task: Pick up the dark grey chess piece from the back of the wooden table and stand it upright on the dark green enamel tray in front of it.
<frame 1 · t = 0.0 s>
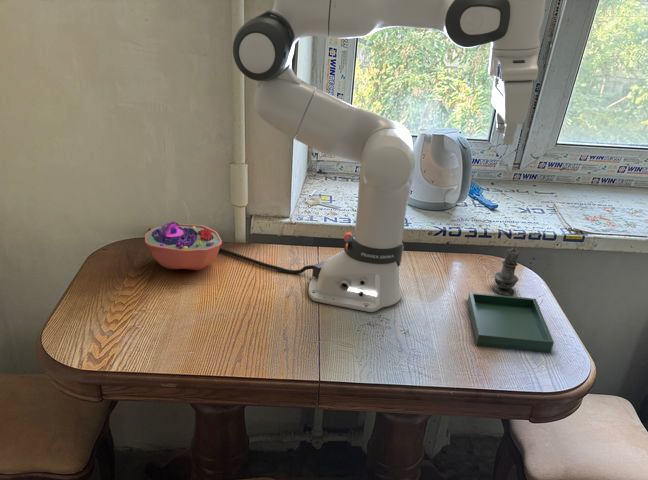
hand: (503, 137, 123), 39 cm above the table, tool pointing down, fingers open, 8 cm apart
tray: (506, 325, 136), on the table
cell model: (185, 267, 154), on the table
dark grey chess piece: (503, 290, 151), on the table
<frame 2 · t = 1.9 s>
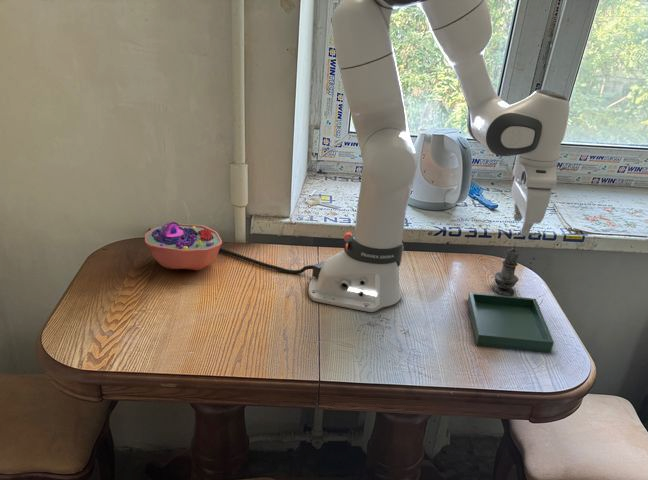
hand: (520, 227, 142), 17 cm above the table, tool pointing down, fingers open, 8 cm apart
nothing on the table moved.
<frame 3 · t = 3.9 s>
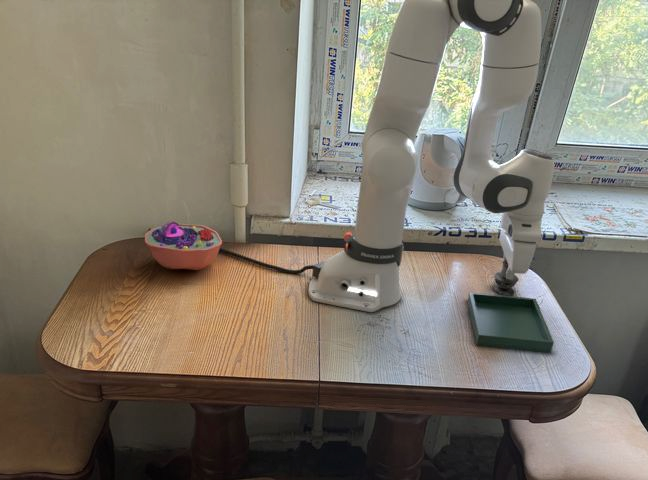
hand: (507, 273, 148), 5 cm above the table, tool pointing down, fingers closed on dark grey chess piece, 3 cm apart
dark grey chess piece: (503, 290, 151), on the table, touching gripper
everything else where it was.
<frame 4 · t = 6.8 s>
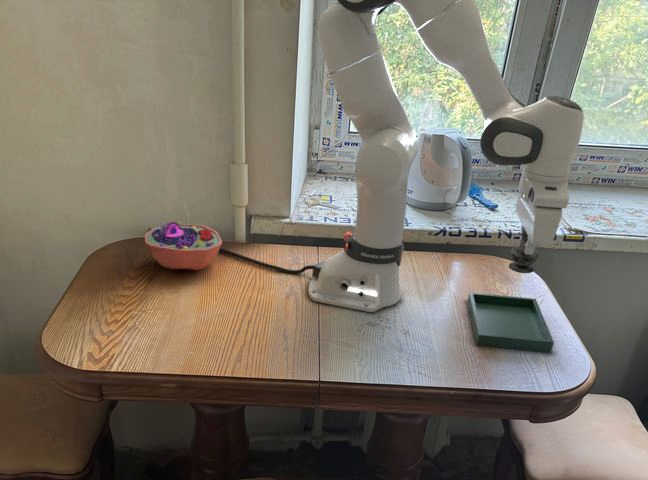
hand: (525, 248, 127), 18 cm above the table, tool pointing down, fingers closed on dark grey chess piece, 3 cm apart
dark grey chess piece: (520, 268, 130), point 14 cm above the table, touching gripper
everything else where it was.
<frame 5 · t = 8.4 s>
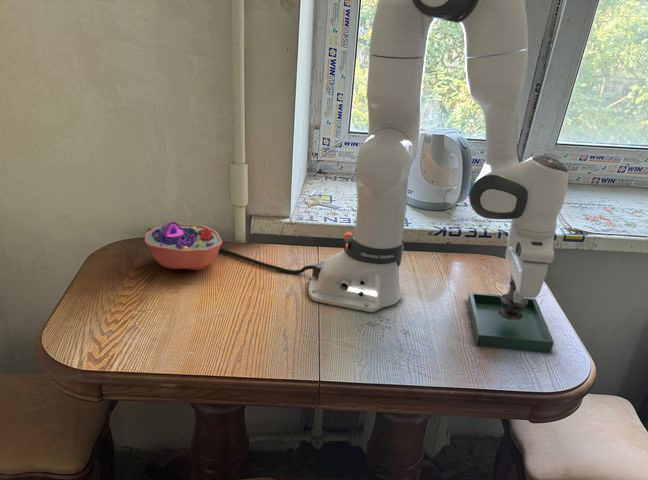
hand: (514, 296, 132), 8 cm above the table, tool pointing down, fingers closed on dark grey chess piece, 3 cm apart
dark grey chess piece: (510, 314, 135), point 3 cm above the table, touching gripper
everything else where it was.
when the fingers open (5 cm above the table, at t = 9.8 s): dark grey chess piece stays where it is, resting on tray.
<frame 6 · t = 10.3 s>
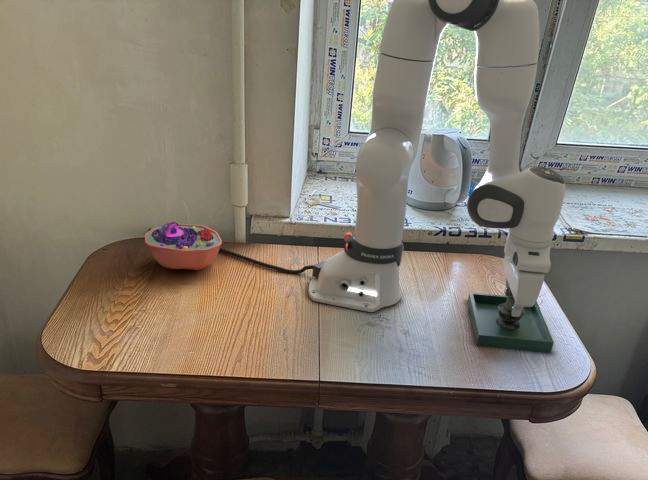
hand: (511, 304, 133), 5 cm above the table, tool pointing down, fingers open, 8 cm apart
dark grey chess piece: (507, 323, 136), resting on tray
everything else where it was.
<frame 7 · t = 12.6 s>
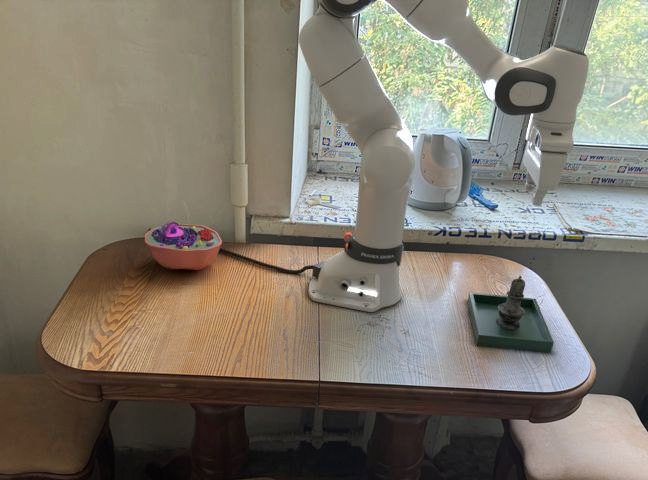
hand: (532, 197, 133), 26 cm above the table, tool pointing down, fingers open, 8 cm apart
nothing on the table moved.
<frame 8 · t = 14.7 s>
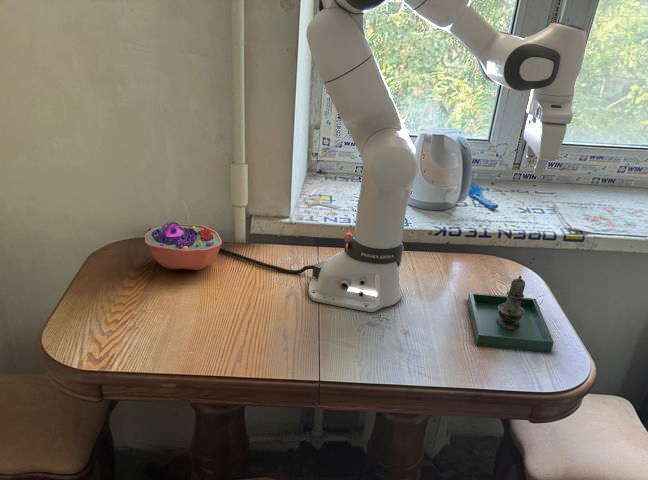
hand: (532, 169, 139), 29 cm above the table, tool pointing down, fingers open, 8 cm apart
nothing on the table moved.
at the end: dark grey chess piece inside the target area in the tray (0.2 cm from its centre), point 0.4 cm above the tray's base; dark grey chess piece tilted 0°; the gripper is holding nothing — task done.
